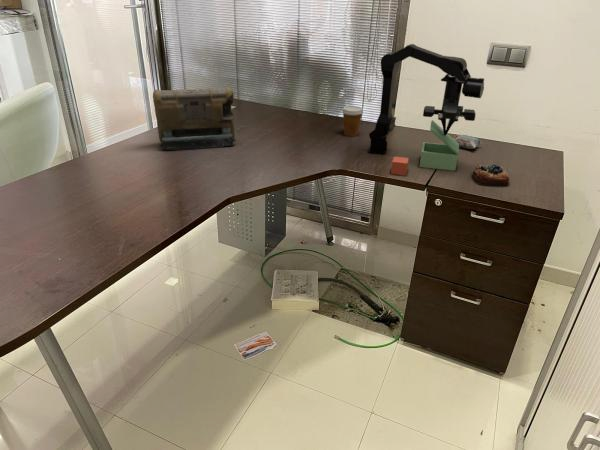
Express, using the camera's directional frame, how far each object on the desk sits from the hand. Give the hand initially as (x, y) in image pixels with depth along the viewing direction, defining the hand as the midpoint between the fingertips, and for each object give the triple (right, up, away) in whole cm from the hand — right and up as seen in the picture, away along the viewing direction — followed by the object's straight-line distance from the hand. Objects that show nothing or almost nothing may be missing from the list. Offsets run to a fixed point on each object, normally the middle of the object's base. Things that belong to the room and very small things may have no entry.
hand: (445, 135), depth 176 cm
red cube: (-18, -15, -2) cm, 23 cm away
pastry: (+14, -18, -7) cm, 24 cm away
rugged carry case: (-101, 0, +23) cm, 103 cm away
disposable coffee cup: (-32, +8, +37) cm, 50 cm away
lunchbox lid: (0, -1, +1) cm, 1 cm away
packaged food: (+16, -1, +23) cm, 28 cm away
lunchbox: (-1, -10, +6) cm, 12 cm away
